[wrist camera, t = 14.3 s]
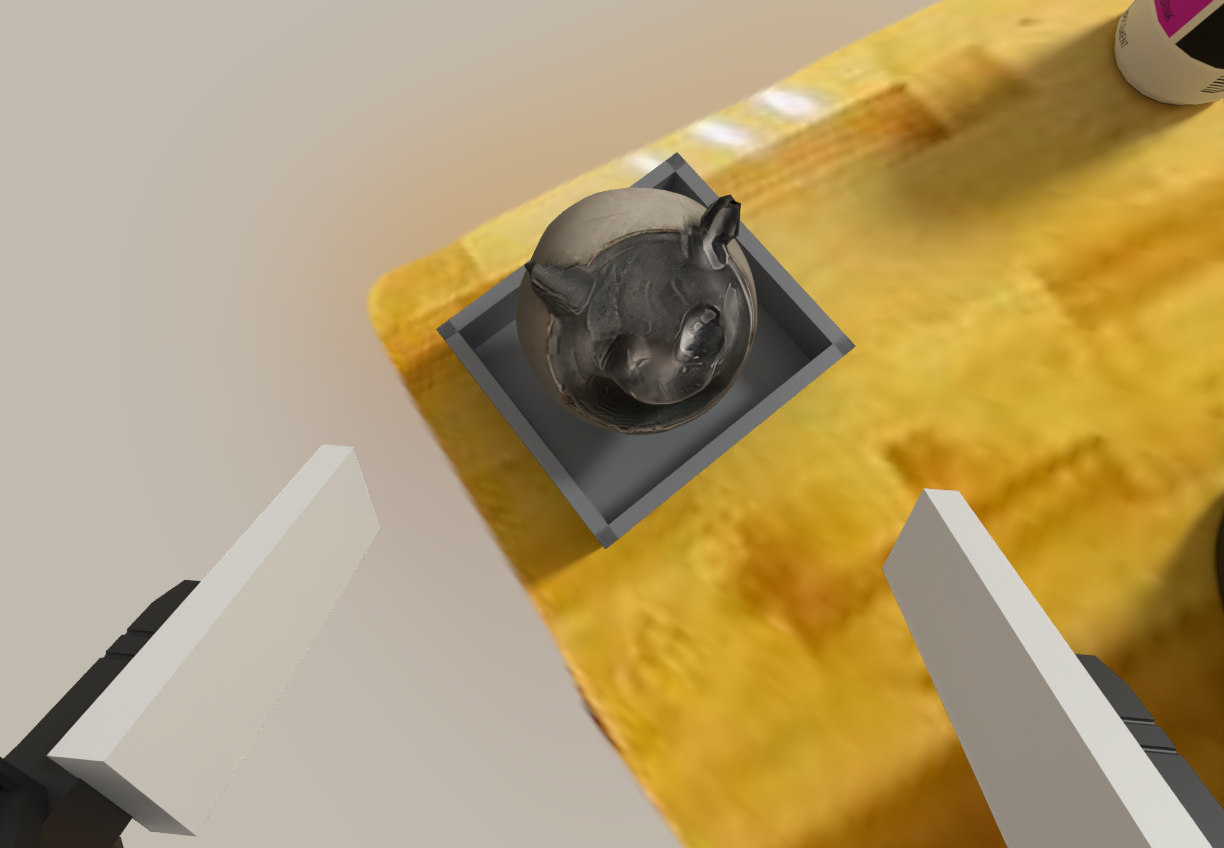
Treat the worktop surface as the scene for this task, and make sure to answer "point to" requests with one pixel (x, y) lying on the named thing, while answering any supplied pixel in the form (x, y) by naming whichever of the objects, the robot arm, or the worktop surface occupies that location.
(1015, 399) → the worktop surface
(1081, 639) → the worktop surface
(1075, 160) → the worktop surface
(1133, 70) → the supplement can
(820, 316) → the tray
